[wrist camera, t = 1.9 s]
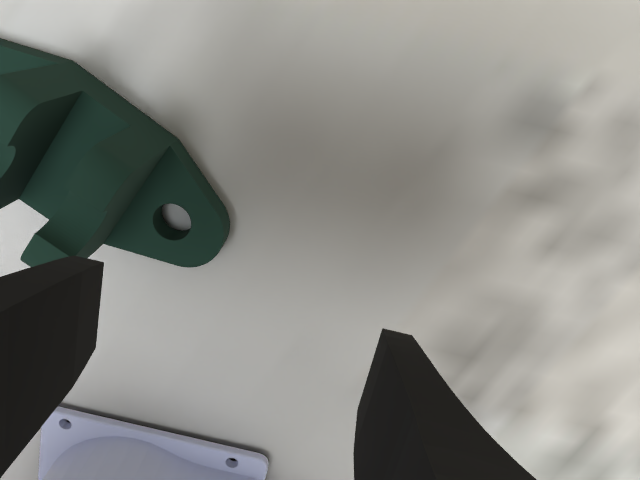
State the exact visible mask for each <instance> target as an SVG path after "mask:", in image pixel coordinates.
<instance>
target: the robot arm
mask: <svg viewBox="0 0 640 480" xmlns="http://www.w3.org/2000/svg"><path fill="white" fill-rule="evenodd" d="M103 267H104V262H100V261H96V260H91V259H87V258H83V257H79V256H69V257H65V258H61V259H57V260H53V261H50V262H47V263H43V264H40V265H37V266H34V267H31V268H27V269H24V270H21V271H18V272H15V273H11V274H8V275H5V276H2V277H0V478H1V477H2V475H3V474H4V473H5V471H6V470H7V469H8V468H9V466H10V465H11V464H12V463H13V461H14V460H15V459H16V458H17V456H18V455H19V454H20V453H21V451H22V450H23V449H24V448H25V447H26V445H27V444H28V443H29V442H30V440H31V439H32V438H33V437H34V435H35V434H36V433H37V432H38V430H39V429H40V428H41V439H40V456H39V472H38V480H265V478H266V474H267V470H268V466H269V461H268V459H267V458H266V457H265V456H264V455H262V454H260V453H256V452H252V451H248V450H243V449H239V448H235V447H231V446H226V445H222V444H218V443H213V442H209V441H205V440H200V439H196V438H192V437H188V436H183V435H179V434H175V433H170V432H166V431H162V430H157V429H153V428H149V427H145V426H140V425H136V424H132V423H127V422H123V421H119V420H114V419H110V418H106V417H102V416H97V415H93V414H89V413H84V412H80V411H76V410H71V409H67V408H63V407H59V406H58V405H59V404H60V403H61V401H62V400H63V399H64V398H65V396H66V395H67V394H68V392H69V391H70V390H71V389H72V387H73V386H74V384H75V382H76V381H77V379H78V377H79V376H80V374H81V373H82V371H83V369H84V367H85V366H86V364H87V362H88V360H89V359H90V357H91V355H92V353H93V352H94V350H95V348H96V338H97V328H98V318H99V308H100V298H101V287H102V277H103ZM64 419H67V420H69V421H70V422H71V423H68V422H66V421H65V420H64ZM229 458H234V459H236V460H237V461H232V460H230V459H229ZM354 480H536V479H535V478H534V477H533V476H532V475H531V474H530V473H528V472H527V471H526V470H525V469H524V468H523V467H522V466H521V465H519V464H518V463H517V462H516V461H515V460H514V459H513V458H512V457H511V456H510V455H509V454H508V453H507V452H506V451H505V450H504V449H503V448H502V447H501V446H500V445H499V444H498V443H497V442H496V441H495V440H494V439H493V438H492V437H491V436H490V435H489V434H488V433H487V432H486V431H485V430H484V429H483V427H482V426H481V425H480V424H479V423H478V422H477V421H476V419H475V418H474V417H473V416H472V415H471V414H470V412H469V411H468V410H467V409H466V408H465V407H464V405H463V404H462V403H461V402H460V400H459V399H458V398H457V397H456V395H455V394H454V393H453V391H452V390H451V389H450V388H449V386H448V385H447V384H446V382H445V381H444V380H443V378H442V377H441V375H440V374H439V373H438V371H437V370H436V368H435V367H434V366H433V364H432V363H431V361H430V360H429V359H428V357H427V356H426V354H425V353H424V351H423V350H422V348H421V347H420V346H419V344H418V343H417V341H416V340H415V339H414V337H413V336H412V335H408V334H404V333H400V332H395V331H391V330H387V329H382V332H381V335H380V338H379V342H378V345H377V348H376V351H375V355H374V358H373V361H372V364H371V368H370V371H369V374H368V377H367V381H366V384H365V387H364V390H363V394H362V397H361V400H360V403H359V407H358V411H357V421H356V431H355V442H354Z"/></svg>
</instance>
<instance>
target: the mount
mask: <svg viewBox="0 0 640 480" xmlns="http://www.w3.org/2000/svg"><path fill="white" fill-rule="evenodd" d="M17 199H20V200H21V201H23V202H24V203H26V204H27V205H29V206H30V207H32V208H33V209H34V210H36V211H37V212H39V213H40V214H42V215H43V216H45V217H46V218H48V219H49V221H48V222H47V223H46V224H45V225H44V226H43V227H42V228H41V229H40V230H39V231H38V232H36V233H35V234H34V236H33V237H32V239H31V241H30V242H29V244H28V246H27V247H26V249H25V250H24V252H23V254H22V256H21V261H23V262H24V263H26V264H27V265H29V266H30V267H34V266H37V265H40V264H43V263H47V262H50V261H53V260H57V259H61V258H65V257H69V256H79V257H83V258H88V257H89V256H90V255H91V254H93V253H94V252H95V251H96V250H97V249H98V248H99V247H100V246H101V245H102V244H106V245H109V246H113V247H116V248H120V249H123V250H126V251H130V252H133V253H137V254H140V255H143V256H147V257H150V258H153V259H157V260H160V261H164V262H167V263H170V264H174V265H177V266H181V267H197V266H201V265H204V264H206V263H208V262H209V261H211V260H212V259H213V258H214V257H215V256H216V255H217V254H218V253H219V251H220V249H221V248H222V246H223V244H224V242H225V241H226V239H227V237H228V234H229V229H230V221H229V216H228V213H227V210H226V208H225V206H224V205H223V203H222V202H221V200H220V199H219V197H218V196H217V194H216V193H215V191H214V190H213V189H212V187H211V186H210V184H209V183H208V181H207V180H206V178H205V177H204V175H203V174H202V172H201V171H200V170H199V168H198V167H197V165H196V164H195V162H194V161H193V159H192V158H191V156H190V155H189V153H188V152H187V151H186V149H185V148H184V146H183V145H182V143H181V142H180V140H179V139H178V138H177V137H175V136H174V135H172V134H171V133H170V132H168V131H167V130H166V129H164V128H163V127H162V126H160V125H159V124H158V123H156V122H155V121H154V120H152V119H151V118H150V117H148V116H147V115H146V114H144V113H143V112H141V111H140V110H139V109H137V108H136V107H135V106H133V105H132V104H131V103H129V102H128V101H127V100H125V99H124V98H123V97H121V96H120V95H119V94H117V93H116V92H114V91H113V90H112V89H110V88H109V87H108V86H106V85H105V84H104V83H102V82H101V81H100V80H98V79H97V78H96V77H94V76H93V75H92V74H90V73H89V72H87V71H86V70H85V69H83V68H82V67H81V66H79V65H78V64H77V63H75V62H74V61H72V60H69V59H66V58H62V57H59V56H56V55H53V54H49V53H46V52H43V51H40V50H36V49H33V48H30V47H27V46H23V45H20V44H17V43H14V42H10V41H7V40H4V39H1V38H0V209H1V208H3V207H5V206H7V205H8V204H10V203H12V202H14V201H16V200H17ZM168 203H171V204H176V205H179V206H181V207H182V208H184V209H185V210H186V211H187V213H188V214H189V216H190V219H191V229H189V230H185V231H180V230H176V229H173V228H171V227H170V226H169V225H168V224H167V223H166V222H165V221H164V219H163V216H162V206H163V204H168Z"/></svg>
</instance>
